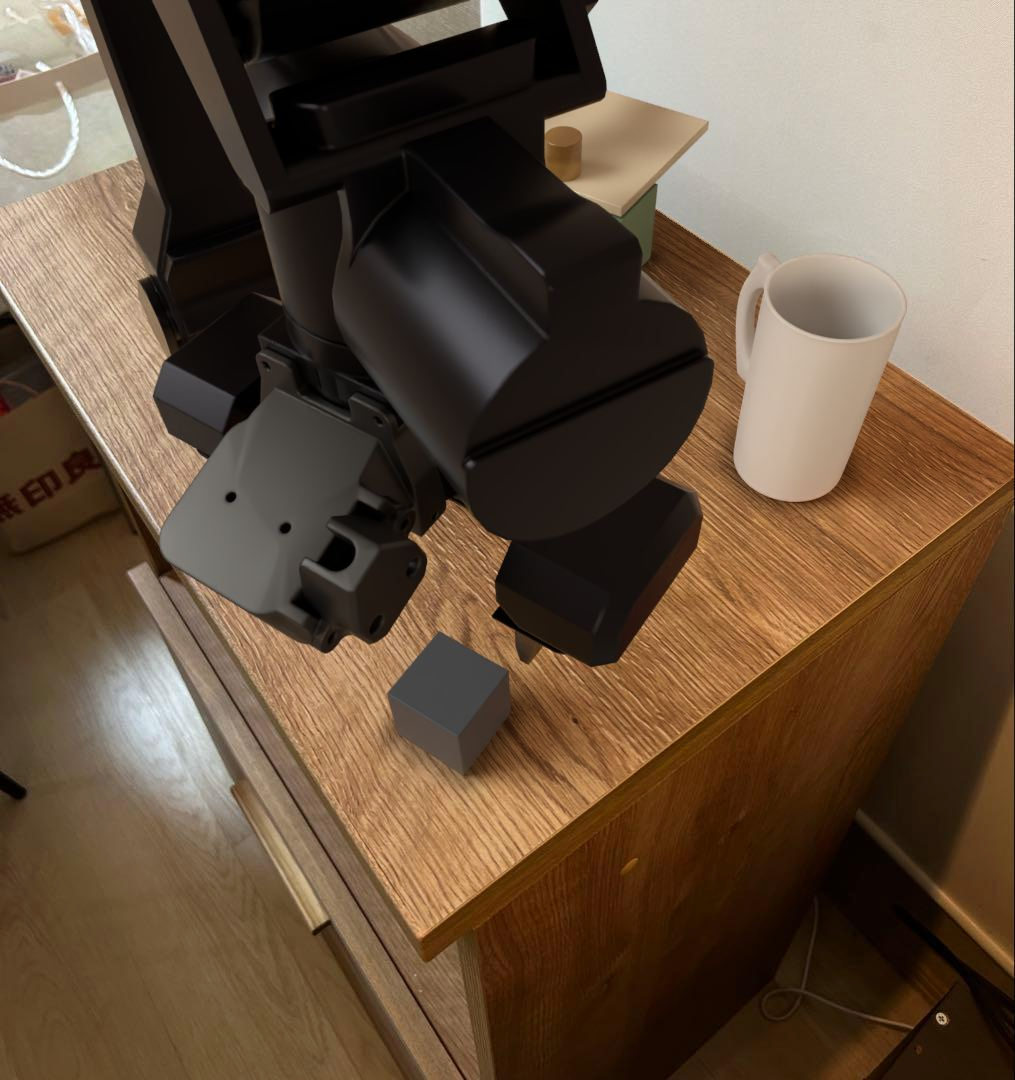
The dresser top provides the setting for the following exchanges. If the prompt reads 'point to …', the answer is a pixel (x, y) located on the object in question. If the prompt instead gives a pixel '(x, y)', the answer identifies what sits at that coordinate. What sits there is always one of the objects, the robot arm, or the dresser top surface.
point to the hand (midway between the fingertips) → (435, 599)
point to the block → (450, 702)
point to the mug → (809, 367)
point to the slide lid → (617, 148)
